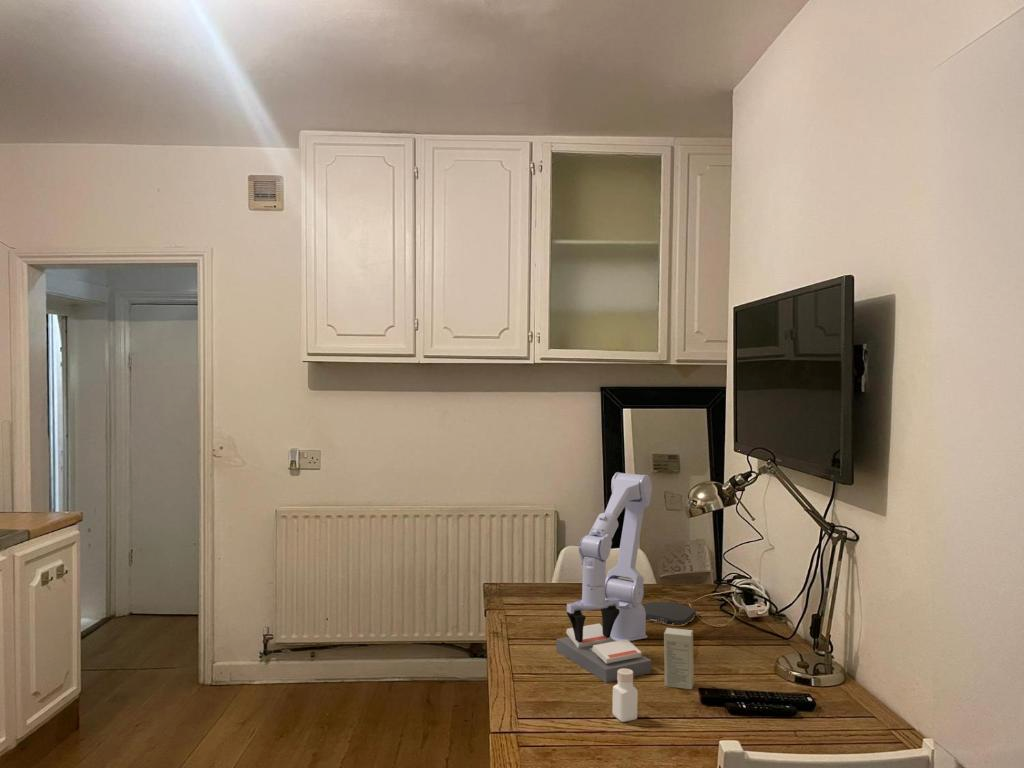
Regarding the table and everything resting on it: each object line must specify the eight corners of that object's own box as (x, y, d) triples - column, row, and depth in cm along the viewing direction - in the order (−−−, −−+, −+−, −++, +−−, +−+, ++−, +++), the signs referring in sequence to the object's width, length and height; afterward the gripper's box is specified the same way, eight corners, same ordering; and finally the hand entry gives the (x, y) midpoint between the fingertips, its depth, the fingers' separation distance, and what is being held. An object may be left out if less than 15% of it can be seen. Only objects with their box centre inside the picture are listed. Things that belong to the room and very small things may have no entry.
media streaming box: (699, 616, 216) (699, 606, 216) (682, 630, 203) (683, 619, 203) (653, 607, 224) (653, 597, 224) (634, 620, 211) (634, 610, 211)
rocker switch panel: (598, 642, 191) (598, 630, 191) (651, 672, 172) (651, 659, 172) (556, 650, 185) (556, 638, 185) (605, 682, 166) (606, 668, 166)
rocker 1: (598, 627, 189) (599, 623, 188) (611, 641, 184) (612, 637, 183) (566, 632, 184) (566, 628, 184) (578, 648, 179) (578, 644, 179)
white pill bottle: (621, 723, 146) (622, 676, 146) (611, 715, 150) (611, 669, 150) (638, 720, 148) (639, 673, 148) (627, 711, 151) (628, 666, 151)
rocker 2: (626, 643, 178) (626, 639, 178) (640, 656, 173) (641, 652, 173) (592, 650, 174) (592, 645, 173) (606, 663, 168) (607, 659, 168)
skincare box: (693, 683, 167) (694, 629, 167) (692, 690, 162) (692, 636, 162) (665, 678, 169) (666, 626, 169) (663, 686, 165) (663, 632, 165)
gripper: (608, 577, 189) (607, 630, 188) (560, 583, 182) (559, 637, 182) (624, 584, 183) (623, 638, 182) (576, 589, 176) (574, 646, 175)
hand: (592, 638), depth 182 cm, fingers open, 7 cm apart
